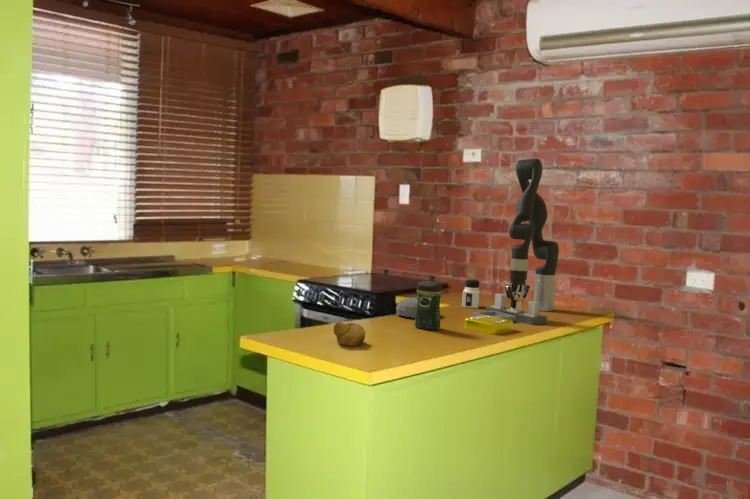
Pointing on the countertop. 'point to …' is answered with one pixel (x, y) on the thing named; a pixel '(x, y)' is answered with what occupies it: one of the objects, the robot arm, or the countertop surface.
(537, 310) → the block
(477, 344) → the countertop surface
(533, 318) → the fuse holder
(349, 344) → the bread roll
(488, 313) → the tray
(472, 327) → the element tile
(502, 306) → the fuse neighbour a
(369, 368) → the countertop surface
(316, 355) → the countertop surface
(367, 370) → the countertop surface
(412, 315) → the soft grey pack
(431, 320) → the coffee jar
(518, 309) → the block
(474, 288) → the container
